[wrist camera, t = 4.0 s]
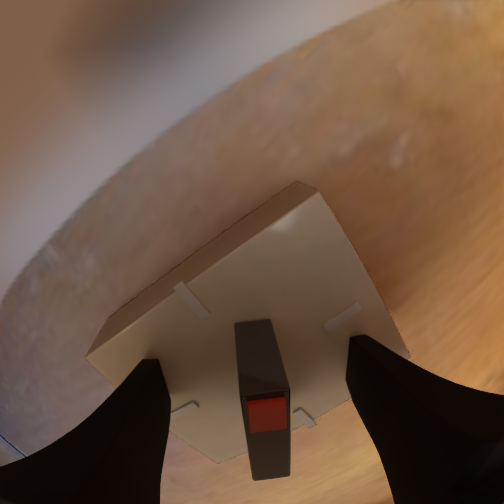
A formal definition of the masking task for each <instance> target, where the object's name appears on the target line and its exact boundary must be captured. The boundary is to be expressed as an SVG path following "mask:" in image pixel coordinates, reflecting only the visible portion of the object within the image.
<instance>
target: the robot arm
mask: <svg viewBox="0 0 504 504" xmlns="http://www.w3.org/2000/svg"><path fill="white" fill-rule="evenodd" d="M345 381H346V384H347V387H348V390H349V393H350V395H351V398H352V401H353V403H354V405H355V407H356V409H357V411H358V413H359V415H360V417H361V419H362V421H363V423H364V425H365V427H366V429H367V431H368V433H369V434H370V436H371V438H372V440H373V442H374V444H375V446H376V449H377V451H378V453H379V455H380V458H381V461H382V464H383V467H384V470H385V472H386V475H387V479H388V482H389V485H390V488H391V492H392V495H393V499H394V503H395V504H504V395H500V394H494V393H489V392H484V391H480V390H476V389H473V388H469V387H466V386H463V385H460V384H457V383H454V382H452V381H449V380H447V379H444V378H442V377H439V376H437V375H435V374H433V373H431V372H429V371H427V370H425V369H423V368H421V367H419V366H417V365H415V364H414V363H412V362H410V361H408V360H407V359H405V358H403V357H402V356H400V355H398V354H397V353H395V352H393V351H392V350H390V349H389V348H387V347H386V346H384V345H382V344H381V343H379V342H378V341H376V340H375V339H373V338H371V337H370V336H368V335H366V334H363V335H357V336H352V337H350V339H349V349H348V359H347V368H346V377H345ZM170 417H171V398H170V395H169V391H168V388H167V385H166V382H165V379H164V375H163V372H162V369H161V365H160V362H159V359H142V360H141V361H140V362H139V363H138V364H137V366H136V367H135V368H134V369H133V370H132V371H131V373H130V374H129V375H128V376H127V377H126V378H125V380H124V381H123V382H122V383H121V384H120V385H119V386H118V387H117V389H116V390H115V391H114V392H113V393H112V394H111V395H110V396H109V397H108V398H107V399H106V400H105V401H104V402H103V403H102V404H101V405H100V406H99V407H98V408H97V409H96V410H95V411H94V412H93V413H92V414H91V415H90V416H89V417H88V418H86V419H85V420H84V421H83V422H82V423H80V424H79V425H78V426H77V427H75V428H74V429H73V430H71V431H70V432H68V433H67V434H65V435H64V436H62V437H61V438H59V439H58V440H56V441H55V442H53V443H52V444H50V445H49V446H47V447H45V448H43V449H41V450H40V451H38V452H36V453H34V454H32V455H29V456H27V457H25V458H23V459H20V460H18V461H15V462H12V463H10V464H7V465H4V466H1V467H0V504H160V482H161V473H162V467H163V461H164V456H165V450H166V445H167V439H168V433H169V427H170Z"/></svg>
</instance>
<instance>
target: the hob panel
mask: <svg viewBox="0 0 504 504" xmlns="http://www.w3.org/2000/svg"><path fill="white" fill-rule="evenodd" d="M265 319H271V321H272V325H273V328H274V332H275V335H276V339H277V342H278V346H279V350H280V353H281V357H282V360H283V364H284V368H285V371H286V375H287V378H288V382H289V385H290V389H291V431H293V430H295V429H297V428H299V427H301V426H303V425H304V424H305V425H307V426H308V427H309V428H311V427H313V426H315V425H317V424H316V422H315V421H314V419H316V418H317V417H319V416H321V415H323V414H325V413H326V412H328V411H330V410H332V409H333V408H335V407H337V406H338V405H340V404H342V403H343V402H345V401H347V400H348V399H350V398H351V395H350V393H349V390H348V387H347V384H346V381H345V377H346V368H347V359H348V349H349V339H350V337H352V336H357V335H363V334H366V335H368V336H370V337H371V338H373V339H375V340H376V341H378V342H379V343H381V344H382V345H384V346H386V347H387V348H389V349H390V350H392V351H393V352H395V353H397V354H398V355H400V356H402V357H403V358H405V359H407V360H408V359H409V358H410V354H409V352H408V350H407V348H406V346H405V344H404V341H403V339H402V337H401V335H400V333H399V331H398V329H397V327H396V325H395V323H394V321H393V319H392V317H391V315H390V313H389V311H388V309H387V307H386V306H385V304H384V302H383V300H382V298H381V296H380V294H379V292H378V290H377V288H376V287H375V285H374V283H373V281H372V279H371V277H370V276H369V274H368V272H367V270H366V268H365V267H364V265H363V263H362V261H361V259H360V258H359V256H358V254H357V252H356V251H355V249H354V247H353V245H352V244H351V242H350V240H349V239H348V237H347V235H346V233H345V232H344V230H343V228H342V227H341V225H340V223H339V222H338V220H337V218H336V217H335V215H334V213H333V212H332V210H331V209H330V207H329V205H328V204H327V202H326V200H325V199H324V197H323V196H322V194H321V192H319V191H317V190H315V189H313V188H311V187H309V186H306V185H304V184H302V183H300V182H298V181H296V182H295V183H293V184H292V185H290V186H289V187H287V188H286V189H284V190H283V191H282V192H280V193H279V194H277V195H276V196H274V197H273V198H271V199H270V200H269V201H267V202H266V203H264V204H263V205H261V206H260V207H259V208H257V209H256V210H254V211H253V212H252V213H250V214H249V215H247V216H246V217H244V218H243V219H242V220H240V221H239V222H237V223H236V224H235V225H233V226H232V227H230V228H229V229H228V230H226V231H225V232H223V233H222V234H221V235H219V236H218V237H217V238H215V239H214V240H212V241H211V242H210V243H208V244H207V245H206V246H204V247H203V248H201V249H200V250H199V251H197V252H196V253H195V254H193V255H192V256H190V257H189V258H188V259H186V260H185V261H184V262H182V263H181V264H180V265H178V266H177V267H176V268H174V269H173V270H171V271H170V272H169V273H167V274H166V275H165V276H163V277H162V278H161V279H159V280H158V281H157V282H155V283H154V284H153V285H151V286H150V287H149V288H147V289H146V290H145V291H143V292H142V293H141V294H139V295H138V296H137V297H136V298H134V299H133V300H132V301H130V302H129V303H128V304H126V305H125V306H124V307H122V308H121V309H120V310H119V311H117V312H116V313H115V314H113V315H112V316H111V317H109V318H108V319H107V320H106V322H105V324H104V325H103V327H102V329H101V330H100V332H99V334H98V335H97V337H96V339H95V341H94V342H93V344H92V346H91V348H90V349H89V351H88V353H87V355H86V356H85V359H86V360H87V361H88V362H89V363H90V364H91V365H92V366H93V367H94V368H95V369H96V370H97V371H98V372H99V373H100V374H101V375H103V376H104V377H105V378H106V379H107V380H108V381H109V382H110V383H111V384H112V385H113V386H115V387H116V388H117V387H118V386H119V385H120V384H121V383H122V382H123V381H124V380H125V378H126V377H127V376H128V375H129V374H130V373H131V371H132V370H133V369H134V368H135V367H136V366H137V364H138V363H139V362H140V361H141V360H142V359H159V362H160V365H161V369H162V372H163V375H164V379H165V382H166V385H167V388H168V391H169V395H170V398H171V417H170V427H169V431H170V432H171V433H173V434H174V435H175V436H177V437H178V438H180V439H181V440H182V441H184V442H185V443H187V444H188V445H190V446H191V447H193V448H194V449H195V450H197V451H198V452H200V453H201V454H203V455H204V456H206V457H208V458H209V459H211V460H212V461H214V462H215V463H217V464H219V463H222V462H224V461H227V460H229V459H232V458H234V457H237V456H239V455H241V454H244V453H246V452H248V448H247V442H246V436H245V430H244V423H243V417H242V410H241V404H240V397H239V387H238V374H237V362H236V349H235V335H234V323H237V322H247V321H256V320H265Z"/></svg>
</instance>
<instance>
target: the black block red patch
mask: <svg viewBox="0 0 504 504" xmlns="http://www.w3.org/2000/svg"><path fill="white" fill-rule="evenodd" d="M234 335H235V349H236V362H237V374H238V387H239V397H240V404H241V410H242V417H243V423H244V430H245V436H246V442H247V448H248V454H249V461H250V466H251V472H252V478H253V480H254V481H257V480H266V479H274V478H281V477H287V476H290V460H291V389H290V385H289V382H288V378H287V375H286V371H285V368H284V364H283V360H282V357H281V353H280V350H279V346H278V342H277V339H276V335H275V332H274V328H273V325H272V321H271V319H265V320H256V321H247V322H237V323H234Z"/></svg>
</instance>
